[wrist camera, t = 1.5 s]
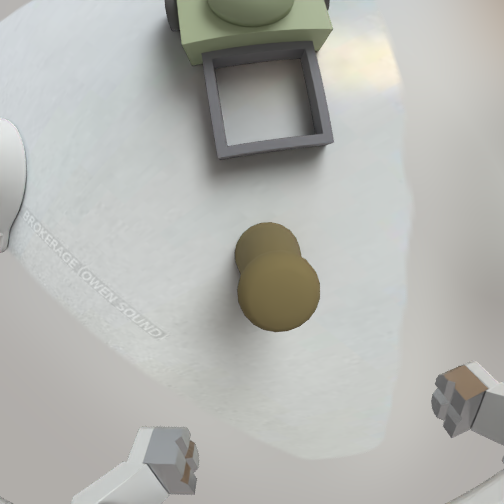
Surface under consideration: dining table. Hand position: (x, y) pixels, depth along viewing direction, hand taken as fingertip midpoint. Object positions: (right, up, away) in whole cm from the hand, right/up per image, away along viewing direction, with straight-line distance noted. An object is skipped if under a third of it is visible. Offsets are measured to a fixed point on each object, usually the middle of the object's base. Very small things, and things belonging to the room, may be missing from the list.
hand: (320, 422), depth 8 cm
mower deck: (-2, +23, +15) cm, 27 cm away
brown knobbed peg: (-1, +5, +20) cm, 21 cm away
